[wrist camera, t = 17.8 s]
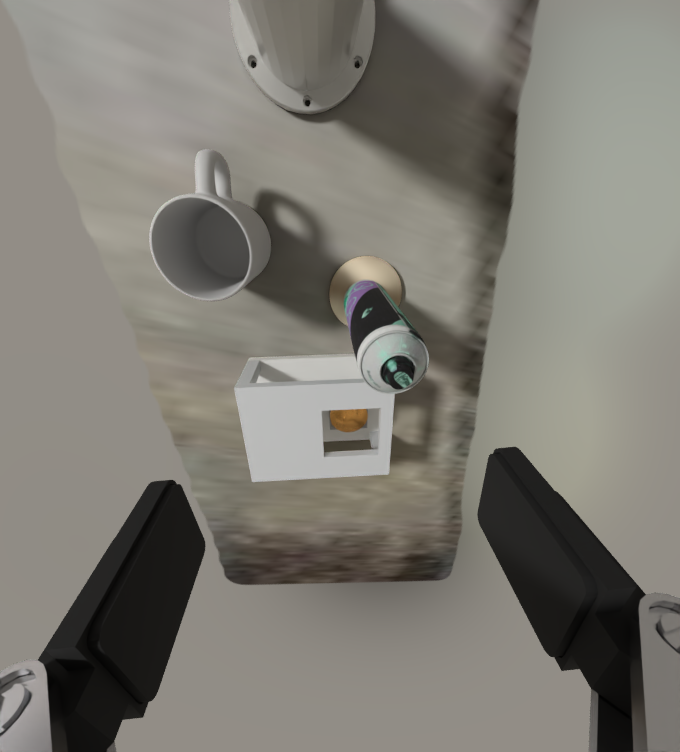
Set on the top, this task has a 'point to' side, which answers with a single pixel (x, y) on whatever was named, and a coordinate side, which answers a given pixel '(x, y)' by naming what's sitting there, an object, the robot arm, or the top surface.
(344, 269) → the coaster
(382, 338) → the spray can
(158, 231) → the mug
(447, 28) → the top surface
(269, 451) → the white open box frame
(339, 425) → the button
